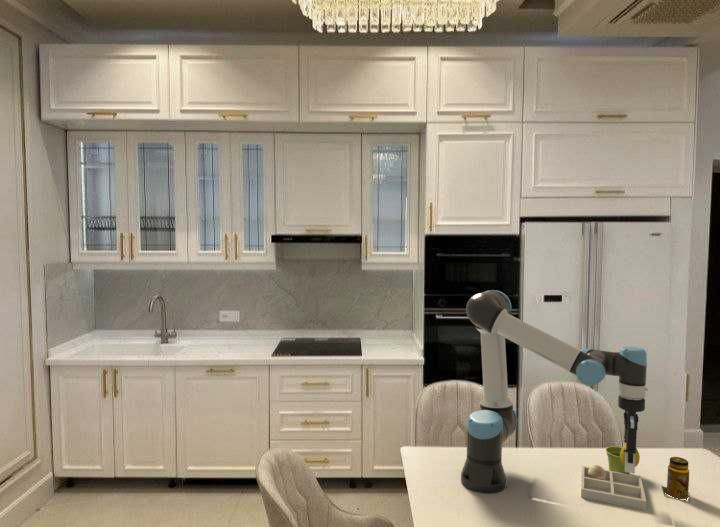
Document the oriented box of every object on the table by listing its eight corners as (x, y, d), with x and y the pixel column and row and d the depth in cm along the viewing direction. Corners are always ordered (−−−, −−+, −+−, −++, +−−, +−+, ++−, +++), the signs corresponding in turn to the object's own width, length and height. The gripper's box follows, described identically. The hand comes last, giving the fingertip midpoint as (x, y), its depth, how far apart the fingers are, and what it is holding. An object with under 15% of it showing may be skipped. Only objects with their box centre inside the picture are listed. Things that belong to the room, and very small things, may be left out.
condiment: (689, 502, 166) (691, 466, 165) (659, 495, 170) (661, 460, 170) (688, 492, 172) (690, 457, 172) (659, 486, 177) (660, 452, 176)
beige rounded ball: (587, 483, 176) (588, 467, 176) (587, 476, 181) (588, 461, 181) (606, 487, 174) (606, 470, 173) (605, 480, 179) (606, 464, 179)
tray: (580, 499, 167) (581, 488, 167) (581, 475, 184) (581, 465, 184) (645, 512, 160) (646, 501, 159) (640, 486, 176) (640, 476, 176)
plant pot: (640, 480, 180) (641, 456, 180) (615, 482, 179) (616, 458, 178) (622, 468, 190) (623, 445, 189) (598, 470, 188) (599, 447, 188)
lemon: (641, 473, 162) (642, 448, 162) (622, 471, 163) (623, 446, 163) (636, 465, 167) (636, 441, 167) (617, 464, 168) (618, 440, 168)
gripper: (648, 406, 154) (645, 483, 155) (642, 390, 171) (639, 458, 172) (620, 403, 157) (617, 478, 158) (617, 387, 174) (614, 454, 175)
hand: (628, 467), depth 165 cm, fingers closed on lemon, 5 cm apart
